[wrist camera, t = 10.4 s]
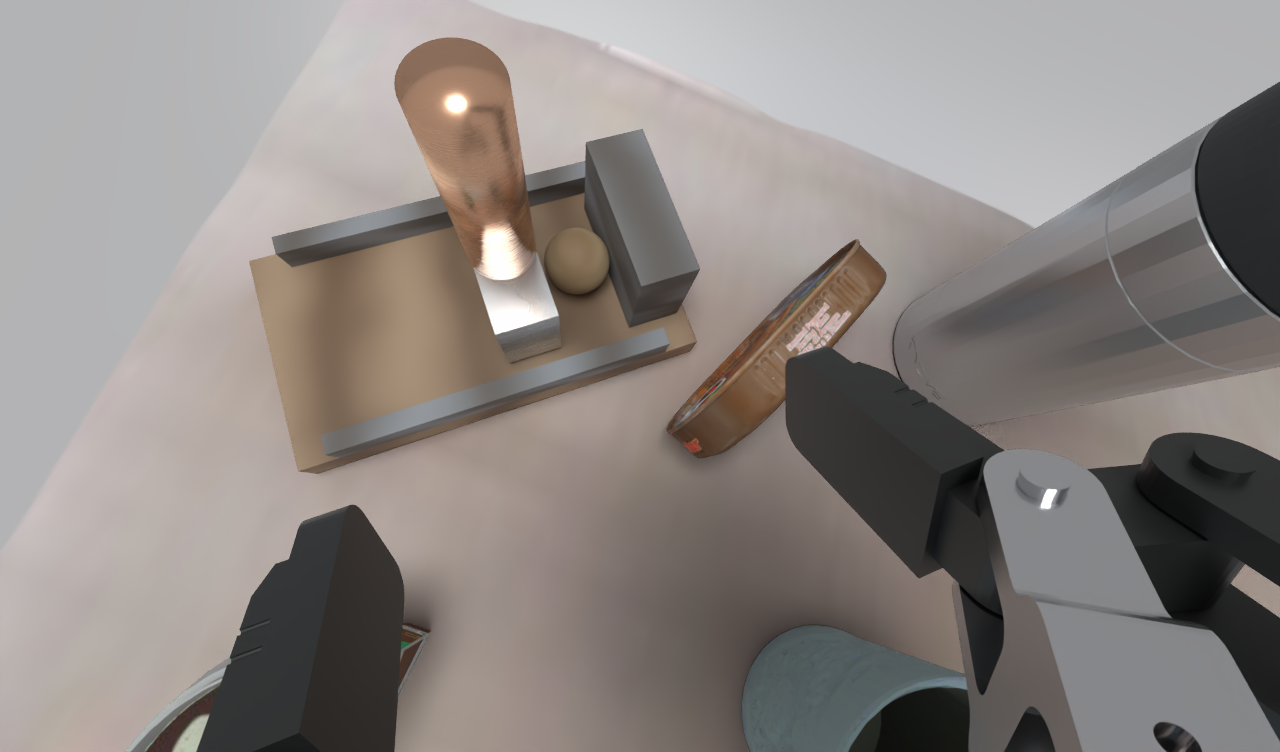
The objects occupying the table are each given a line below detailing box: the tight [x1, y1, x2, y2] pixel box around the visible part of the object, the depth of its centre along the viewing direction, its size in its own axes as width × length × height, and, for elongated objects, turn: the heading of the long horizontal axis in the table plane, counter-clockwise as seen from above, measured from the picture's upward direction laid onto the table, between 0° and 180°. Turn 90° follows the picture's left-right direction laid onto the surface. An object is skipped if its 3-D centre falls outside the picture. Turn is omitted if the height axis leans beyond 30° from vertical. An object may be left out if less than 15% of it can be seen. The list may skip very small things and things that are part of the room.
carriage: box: [395, 38, 562, 363], centre depth 22 cm, size 3×8×15 cm, turn 20°
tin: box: [667, 239, 886, 458], centre depth 29 cm, size 15×3×8 cm, turn 136°
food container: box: [126, 624, 431, 752], centre depth 21 cm, size 12×6×10 cm, turn 156°
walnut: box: [544, 227, 610, 294], centre depth 29 cm, size 4×4×4 cm
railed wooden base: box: [249, 129, 700, 473], centre depth 27 cm, size 22×12×8 cm, turn 110°
